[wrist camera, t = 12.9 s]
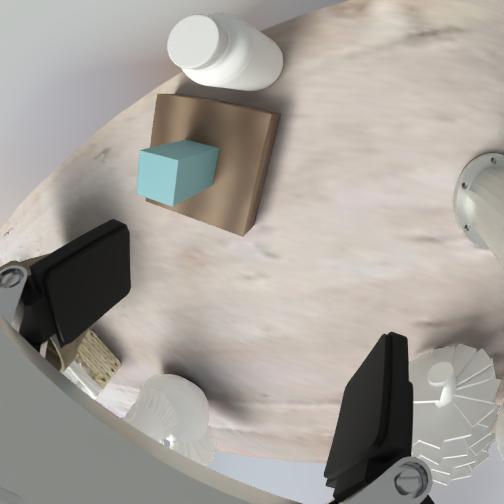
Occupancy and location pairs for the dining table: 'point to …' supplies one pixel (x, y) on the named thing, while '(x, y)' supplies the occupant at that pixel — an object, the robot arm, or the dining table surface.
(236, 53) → the pill bottle
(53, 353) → the plant pot
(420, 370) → the spiral staircase
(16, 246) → the dining table surface
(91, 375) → the storage basket
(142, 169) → the teal carton
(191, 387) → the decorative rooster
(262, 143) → the wavy brown panel
